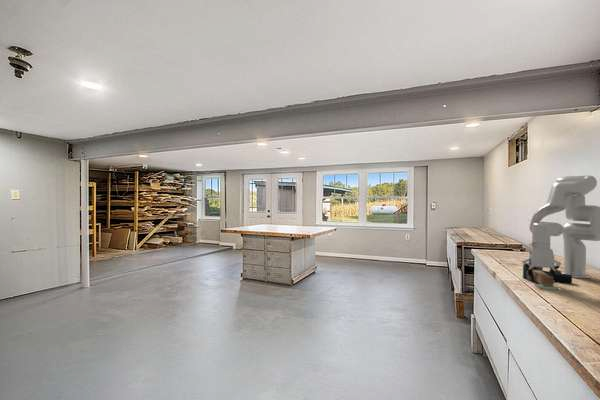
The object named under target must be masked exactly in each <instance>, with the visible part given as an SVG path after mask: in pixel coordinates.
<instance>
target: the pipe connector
mask: <svg viewBox="0 0 600 400" xmlns="http://www.w3.org/2000/svg"><path fill="white" fill-rule="evenodd" d="M561 271H562V270H558V269H557V270H556V271H555V277H554V278H553V282H558V283H562V284H569V285H572V283H573V277H572V275H569V274H562V273H561ZM543 272H544V273H546V274H548V275H549V270H543Z"/></svg>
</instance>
